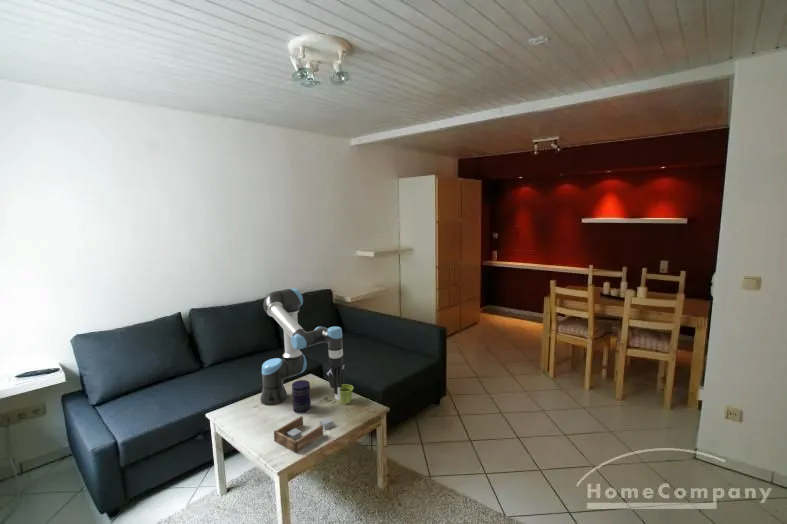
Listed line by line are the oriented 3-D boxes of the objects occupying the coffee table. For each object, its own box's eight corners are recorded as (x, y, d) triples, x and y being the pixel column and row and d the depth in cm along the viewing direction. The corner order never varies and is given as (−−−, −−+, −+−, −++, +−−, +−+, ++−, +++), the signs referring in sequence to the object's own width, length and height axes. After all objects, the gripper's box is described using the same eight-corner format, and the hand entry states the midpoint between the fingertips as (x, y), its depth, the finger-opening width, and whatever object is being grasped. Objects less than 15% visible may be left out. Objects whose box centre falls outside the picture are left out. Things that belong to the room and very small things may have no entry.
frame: (274, 441, 181) (273, 431, 181) (301, 425, 195) (301, 416, 194) (295, 453, 172) (295, 442, 171) (323, 435, 185) (322, 425, 185)
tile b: (319, 426, 194) (319, 420, 194) (328, 422, 197) (327, 417, 197) (324, 430, 190) (324, 424, 190) (333, 426, 194) (333, 420, 193)
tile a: (286, 438, 184) (286, 432, 184) (295, 433, 188) (295, 427, 187) (293, 441, 181) (292, 436, 180) (301, 436, 185) (301, 431, 184)
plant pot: (355, 398, 223) (354, 384, 221) (351, 406, 213) (351, 391, 212) (339, 397, 223) (339, 384, 222) (335, 405, 214) (335, 391, 213)
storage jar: (302, 415, 204) (301, 389, 203) (289, 410, 209) (287, 385, 207) (314, 406, 213) (313, 382, 211) (301, 403, 218) (300, 378, 216)
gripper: (332, 361, 189) (333, 405, 192) (349, 353, 199) (351, 395, 202) (321, 358, 193) (323, 401, 196) (339, 351, 204) (341, 392, 206)
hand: (337, 398), depth 199 cm, fingers closed
